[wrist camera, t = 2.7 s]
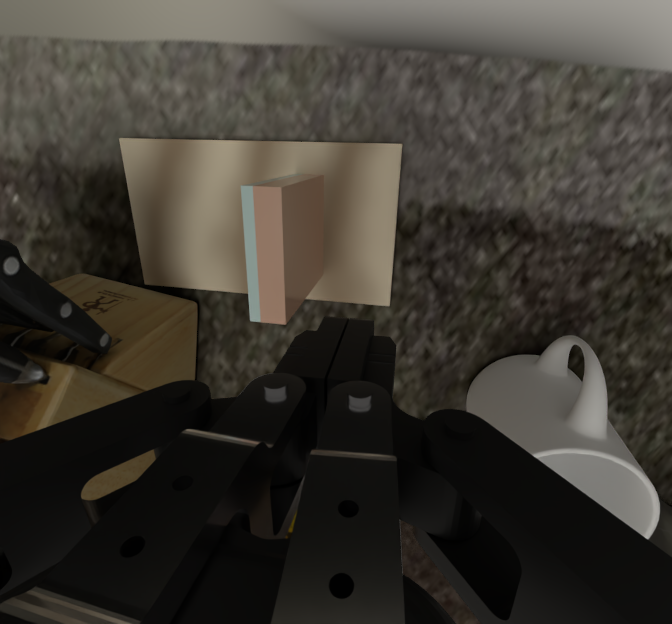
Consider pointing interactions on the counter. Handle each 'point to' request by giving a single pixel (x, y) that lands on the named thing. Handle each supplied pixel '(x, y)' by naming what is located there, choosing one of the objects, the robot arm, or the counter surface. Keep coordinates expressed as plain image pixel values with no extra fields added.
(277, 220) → the pink rectangular block
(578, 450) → the mug
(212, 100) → the counter surface
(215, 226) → the board
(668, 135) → the counter surface
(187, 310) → the knife block
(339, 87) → the counter surface
